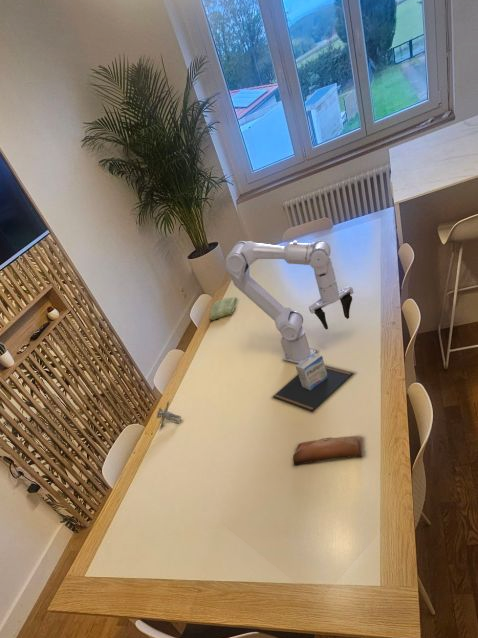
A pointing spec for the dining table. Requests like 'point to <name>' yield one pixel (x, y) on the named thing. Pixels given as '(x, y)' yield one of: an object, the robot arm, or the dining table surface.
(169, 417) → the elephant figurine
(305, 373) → the medicine box
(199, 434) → the dining table surface
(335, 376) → the slate mat
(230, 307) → the washcloth
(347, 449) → the sunglasses case
